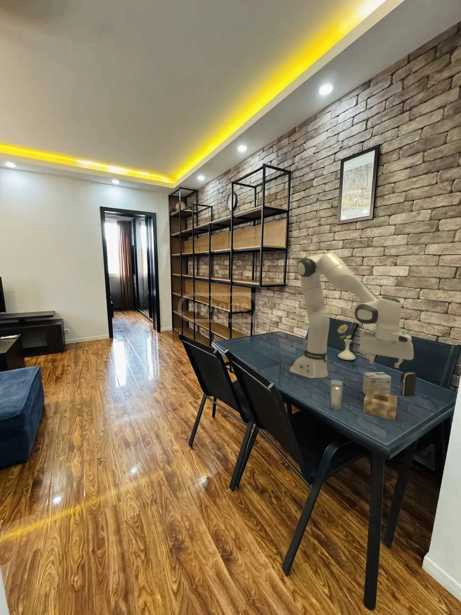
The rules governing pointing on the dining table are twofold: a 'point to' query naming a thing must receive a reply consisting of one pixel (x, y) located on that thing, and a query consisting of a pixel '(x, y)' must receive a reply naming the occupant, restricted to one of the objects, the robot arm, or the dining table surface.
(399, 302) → the robot arm
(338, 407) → the steel peg
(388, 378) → the light bulb box
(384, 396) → the socket block
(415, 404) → the dining table surface
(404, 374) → the battery charger
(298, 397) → the dining table surface
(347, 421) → the dining table surface
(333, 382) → the square bit
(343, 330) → the flower in vase
